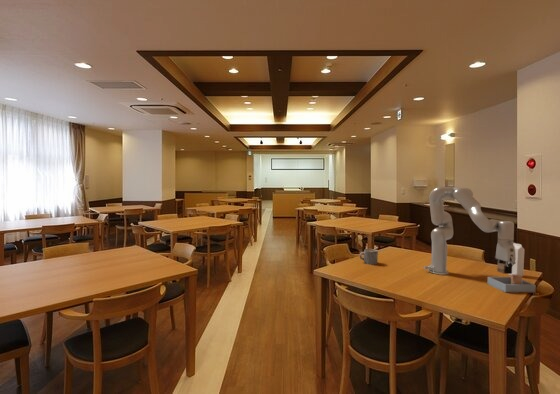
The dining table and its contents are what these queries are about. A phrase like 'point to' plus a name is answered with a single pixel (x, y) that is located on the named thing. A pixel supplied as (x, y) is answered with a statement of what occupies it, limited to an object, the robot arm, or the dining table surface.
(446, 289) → the dining table surface
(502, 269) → the walnut cube
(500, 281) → the tray
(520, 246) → the milk
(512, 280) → the terracotta cylinder
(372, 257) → the coffee mug
